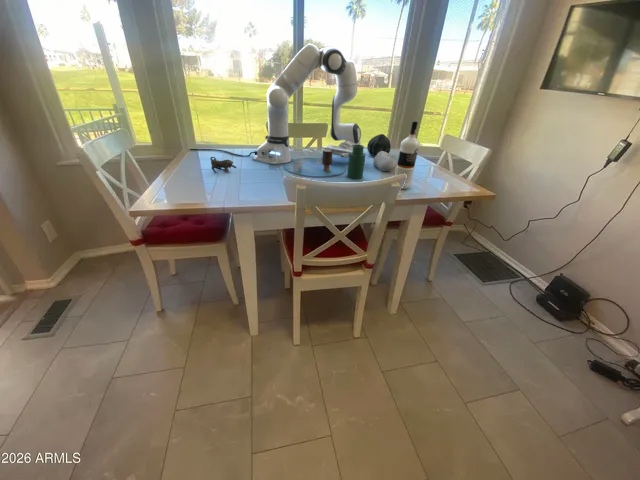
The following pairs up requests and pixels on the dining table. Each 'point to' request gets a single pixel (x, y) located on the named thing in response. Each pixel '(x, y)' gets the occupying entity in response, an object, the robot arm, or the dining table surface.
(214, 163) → the dog figurine
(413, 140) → the vodka
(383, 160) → the decorative stone
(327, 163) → the stopper
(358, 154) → the bottle
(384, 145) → the squash
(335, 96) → the robot arm
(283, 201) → the dining table surface
